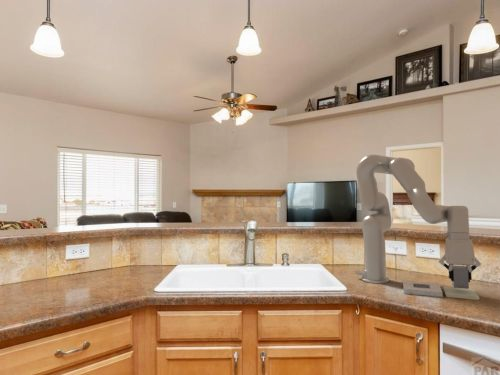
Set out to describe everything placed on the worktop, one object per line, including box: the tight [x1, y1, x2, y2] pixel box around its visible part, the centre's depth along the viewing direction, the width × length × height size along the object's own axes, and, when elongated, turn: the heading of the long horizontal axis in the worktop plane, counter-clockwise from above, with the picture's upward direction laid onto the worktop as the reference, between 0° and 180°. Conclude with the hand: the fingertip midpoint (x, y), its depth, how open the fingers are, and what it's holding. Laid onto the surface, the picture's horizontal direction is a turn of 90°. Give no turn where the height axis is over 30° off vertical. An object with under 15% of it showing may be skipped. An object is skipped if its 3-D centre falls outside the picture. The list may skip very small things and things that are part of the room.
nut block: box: [451, 265, 470, 289], centre depth 137 cm, size 5×5×8 cm
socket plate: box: [402, 280, 443, 298], centre depth 143 cm, size 14×14×2 cm
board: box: [442, 286, 480, 301], centre depth 137 cm, size 11×12×1 cm
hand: (460, 280), depth 137 cm, fingers closed on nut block, 5 cm apart
